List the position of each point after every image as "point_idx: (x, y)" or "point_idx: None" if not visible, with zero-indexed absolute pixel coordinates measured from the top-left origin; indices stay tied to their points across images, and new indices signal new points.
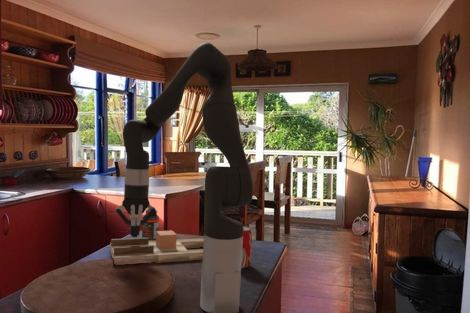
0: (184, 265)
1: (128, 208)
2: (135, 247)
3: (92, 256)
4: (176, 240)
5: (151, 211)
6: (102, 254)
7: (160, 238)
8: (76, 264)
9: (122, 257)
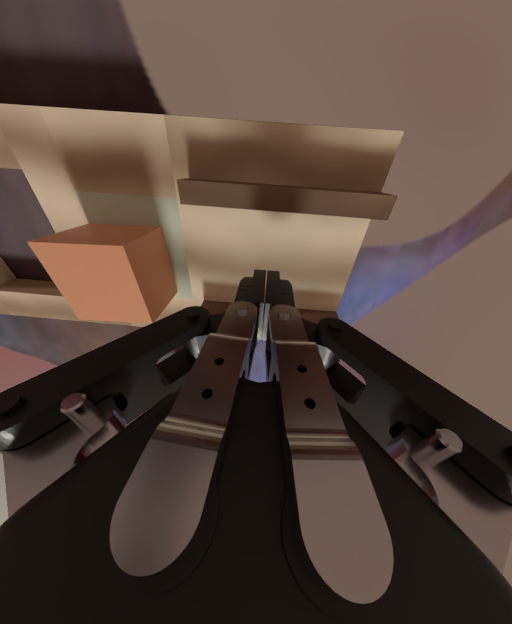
0: (32, 9)
1: (380, 481)
2: (279, 186)
3: (394, 288)
4: None
5: (59, 391)
6: (355, 298)
7: (131, 240)
8: (502, 213)
9: (360, 128)
